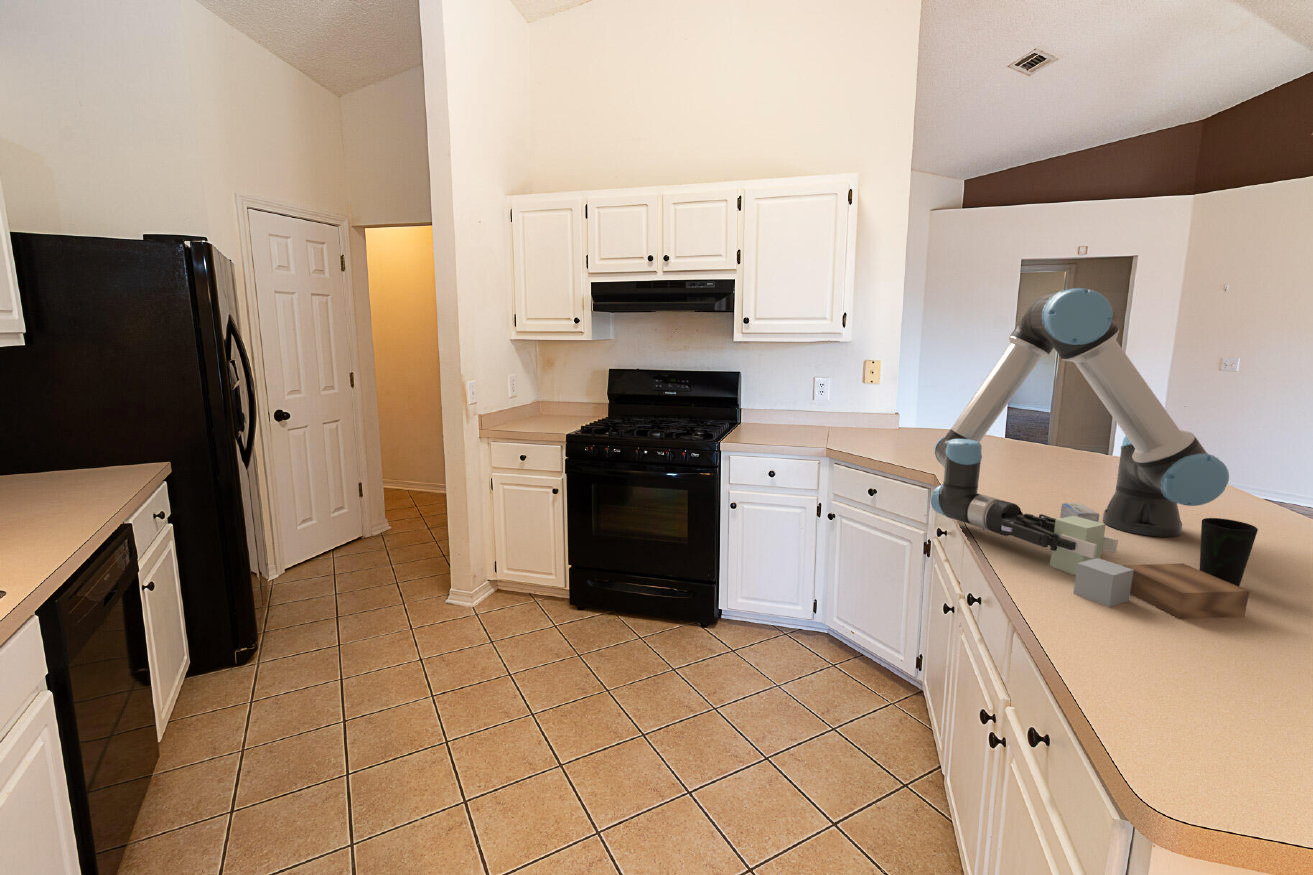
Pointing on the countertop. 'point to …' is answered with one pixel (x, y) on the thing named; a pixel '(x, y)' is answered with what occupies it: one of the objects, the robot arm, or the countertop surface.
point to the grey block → (1103, 582)
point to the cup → (1226, 548)
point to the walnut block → (1187, 591)
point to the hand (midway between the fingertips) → (1105, 548)
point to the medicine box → (1078, 511)
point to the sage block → (1079, 530)
